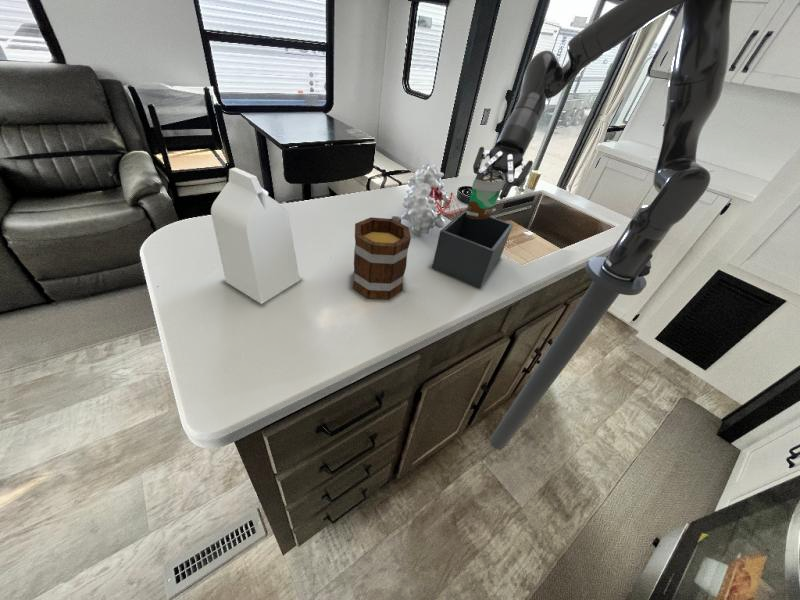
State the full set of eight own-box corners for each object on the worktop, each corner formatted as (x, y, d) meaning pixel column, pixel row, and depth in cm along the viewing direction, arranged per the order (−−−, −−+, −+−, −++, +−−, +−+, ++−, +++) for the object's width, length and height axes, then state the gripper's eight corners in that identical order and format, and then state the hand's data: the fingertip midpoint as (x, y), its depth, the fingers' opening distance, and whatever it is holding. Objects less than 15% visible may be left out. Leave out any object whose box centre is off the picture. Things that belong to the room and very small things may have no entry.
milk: (226, 282, 75) (193, 170, 58) (265, 261, 83) (247, 157, 66) (261, 304, 71) (237, 190, 54) (299, 280, 79) (289, 174, 62)
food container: (485, 226, 79) (498, 187, 73) (463, 218, 81) (473, 179, 75) (501, 210, 88) (514, 174, 81) (480, 203, 90) (491, 167, 83)
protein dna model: (449, 246, 115) (436, 184, 120) (476, 222, 98) (459, 151, 103) (397, 248, 108) (386, 182, 113) (417, 222, 91) (402, 147, 97)
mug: (394, 306, 76) (402, 253, 66) (342, 290, 78) (342, 236, 68) (415, 264, 91) (424, 215, 81) (371, 251, 93) (374, 202, 83)
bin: (499, 258, 99) (513, 224, 91) (479, 288, 86) (493, 251, 78) (456, 241, 103) (466, 207, 96) (431, 267, 90) (440, 230, 83)
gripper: (490, 116, 78) (460, 177, 78) (548, 131, 74) (517, 195, 73) (490, 136, 86) (462, 191, 85) (543, 150, 81) (514, 209, 81)
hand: (488, 193), depth 79 cm, fingers closed on food container, 6 cm apart
